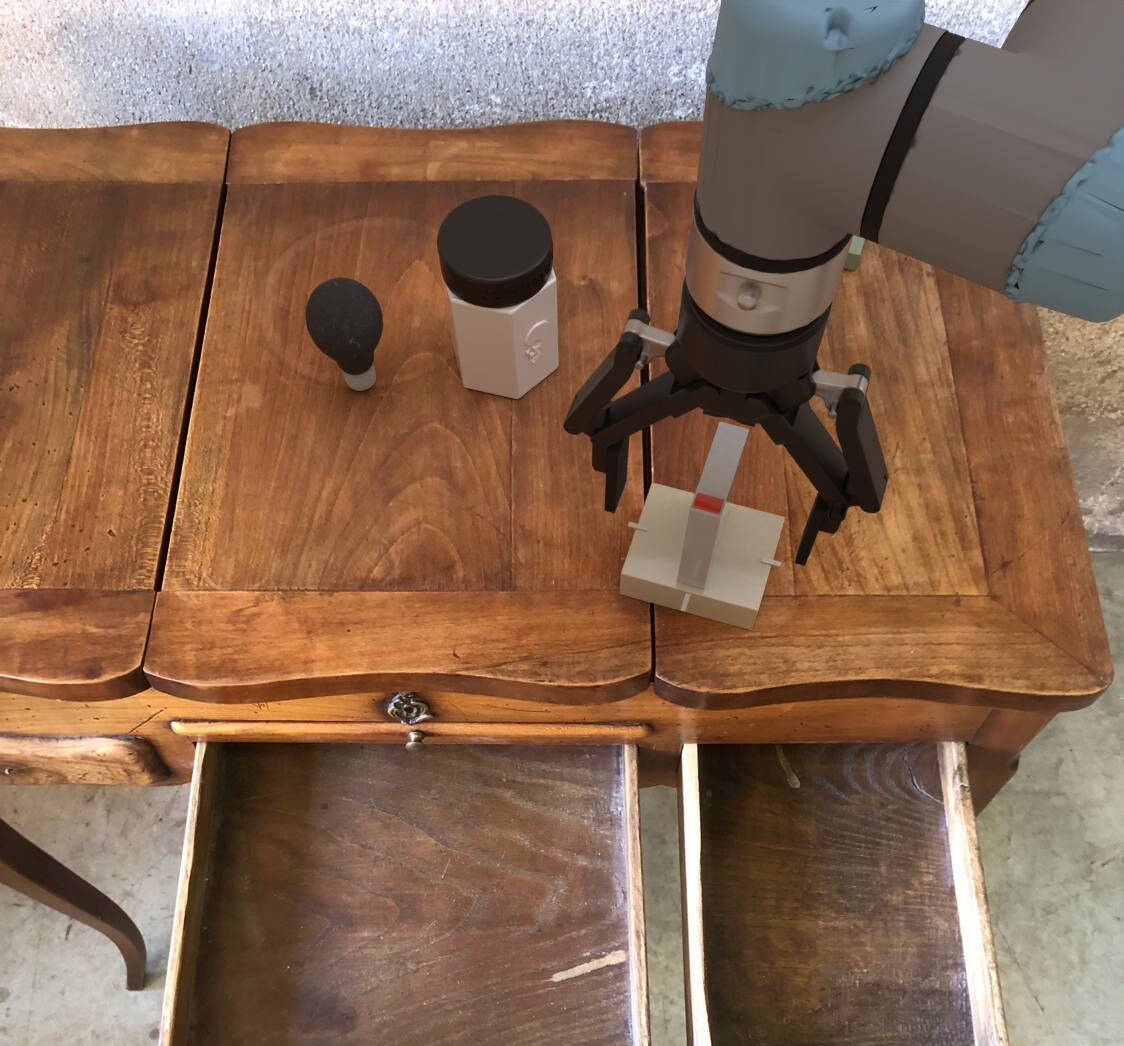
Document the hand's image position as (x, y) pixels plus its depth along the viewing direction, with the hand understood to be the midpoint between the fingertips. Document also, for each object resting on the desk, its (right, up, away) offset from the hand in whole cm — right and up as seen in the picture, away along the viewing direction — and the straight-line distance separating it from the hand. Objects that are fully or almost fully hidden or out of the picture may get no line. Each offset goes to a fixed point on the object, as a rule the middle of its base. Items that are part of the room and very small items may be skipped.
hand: (708, 522), depth 72 cm
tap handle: (0, -1, +3) cm, 3 cm away
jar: (-15, +16, +13) cm, 25 cm away
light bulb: (-26, +13, +12) cm, 32 cm away
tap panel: (0, -2, +6) cm, 6 cm away
